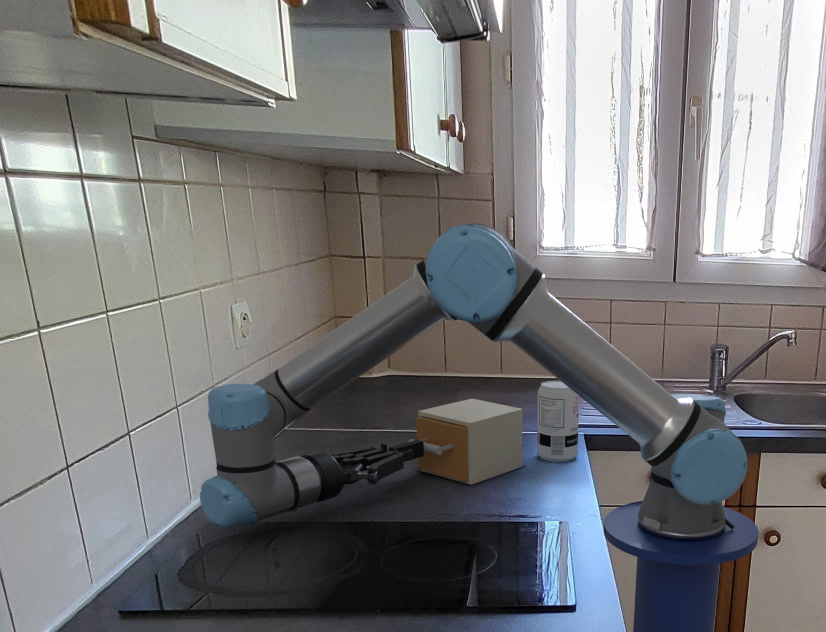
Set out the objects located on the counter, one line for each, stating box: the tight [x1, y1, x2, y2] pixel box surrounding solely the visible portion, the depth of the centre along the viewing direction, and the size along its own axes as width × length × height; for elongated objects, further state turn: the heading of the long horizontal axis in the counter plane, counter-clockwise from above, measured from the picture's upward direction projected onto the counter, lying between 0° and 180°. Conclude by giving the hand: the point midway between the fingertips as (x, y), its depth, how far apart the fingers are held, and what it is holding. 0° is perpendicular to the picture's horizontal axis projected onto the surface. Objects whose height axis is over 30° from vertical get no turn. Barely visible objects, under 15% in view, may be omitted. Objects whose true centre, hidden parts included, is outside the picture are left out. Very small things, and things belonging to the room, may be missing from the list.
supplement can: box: [536, 380, 580, 463], centre depth 167 cm, size 8×8×15 cm
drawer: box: [407, 416, 469, 481], centre depth 154 cm, size 18×11×10 cm, turn 150°
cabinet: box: [417, 398, 523, 486], centre depth 157 cm, size 15×13×12 cm
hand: (420, 448), depth 146 cm, fingers closed
